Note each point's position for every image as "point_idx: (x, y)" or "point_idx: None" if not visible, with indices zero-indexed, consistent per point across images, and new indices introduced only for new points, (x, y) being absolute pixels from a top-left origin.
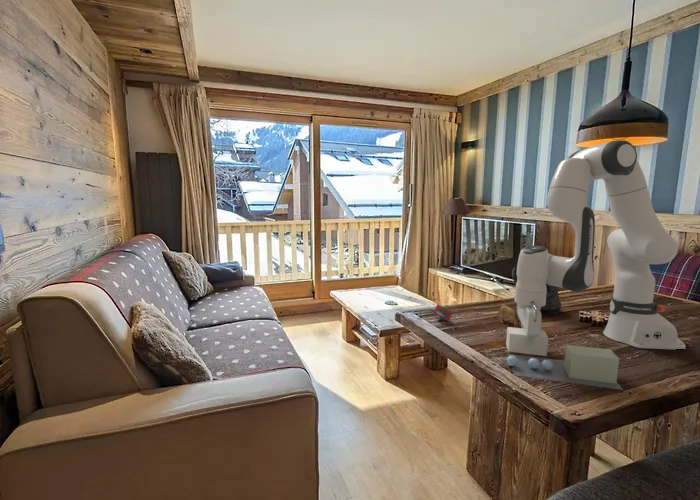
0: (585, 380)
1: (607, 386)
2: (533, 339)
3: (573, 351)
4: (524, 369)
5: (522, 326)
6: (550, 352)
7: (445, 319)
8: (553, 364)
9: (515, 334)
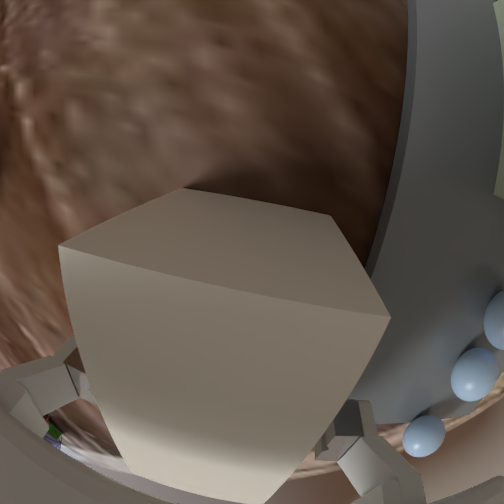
0: None
1: None
2: (390, 448)
3: None
4: None
5: (62, 401)
6: (199, 131)
7: (47, 421)
8: (461, 239)
9: (269, 495)
